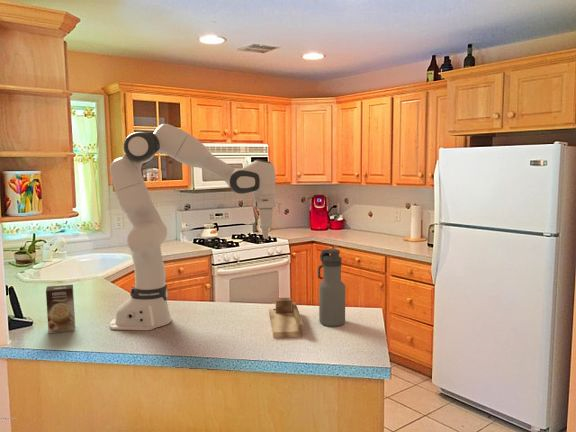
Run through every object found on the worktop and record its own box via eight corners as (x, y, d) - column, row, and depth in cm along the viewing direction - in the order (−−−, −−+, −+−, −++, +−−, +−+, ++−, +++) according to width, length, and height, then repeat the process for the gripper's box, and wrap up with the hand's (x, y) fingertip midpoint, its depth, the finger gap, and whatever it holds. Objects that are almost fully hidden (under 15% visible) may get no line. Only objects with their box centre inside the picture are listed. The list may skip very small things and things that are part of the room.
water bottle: (313, 321, 189) (313, 248, 186) (333, 316, 195) (333, 246, 191) (329, 328, 181) (329, 253, 177) (350, 323, 186) (350, 250, 183)
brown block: (273, 313, 192) (273, 301, 192) (272, 310, 196) (272, 298, 196) (291, 313, 193) (291, 300, 192) (290, 309, 197) (290, 297, 196)
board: (273, 337, 173) (273, 325, 172) (269, 313, 199) (268, 303, 198) (303, 336, 174) (303, 324, 173) (295, 312, 200) (295, 302, 199)
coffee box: (47, 334, 179) (44, 290, 177) (49, 328, 185) (46, 286, 183) (75, 330, 182) (72, 288, 180) (76, 325, 188) (73, 283, 186)
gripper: (255, 199, 205) (256, 232, 206) (257, 204, 184) (258, 241, 186) (271, 199, 205) (271, 232, 207) (274, 204, 185) (274, 240, 187)
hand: (265, 236), depth 196 cm, fingers open, 8 cm apart
